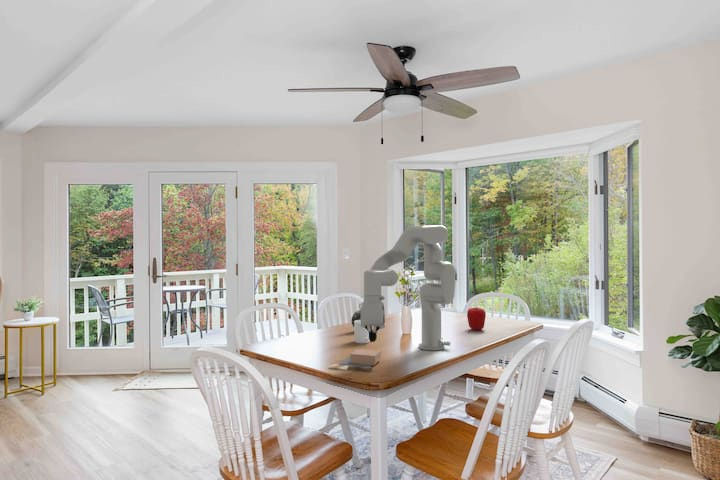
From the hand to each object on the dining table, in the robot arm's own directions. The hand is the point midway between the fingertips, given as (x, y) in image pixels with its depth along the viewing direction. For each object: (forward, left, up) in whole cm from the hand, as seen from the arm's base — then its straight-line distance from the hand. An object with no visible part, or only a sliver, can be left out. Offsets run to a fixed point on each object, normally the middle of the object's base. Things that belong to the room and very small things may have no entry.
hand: (372, 341), depth 197 cm
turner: (+7, +11, -10) cm, 16 cm away
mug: (+16, -35, -10) cm, 40 cm away
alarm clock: (+26, -60, -10) cm, 66 cm away
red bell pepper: (-36, -85, -10) cm, 93 cm away
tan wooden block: (-2, 0, -7) cm, 7 cm away
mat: (+6, 0, -10) cm, 11 cm away
